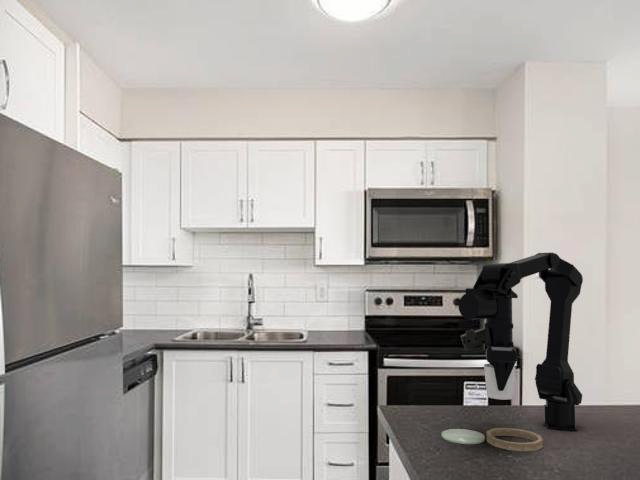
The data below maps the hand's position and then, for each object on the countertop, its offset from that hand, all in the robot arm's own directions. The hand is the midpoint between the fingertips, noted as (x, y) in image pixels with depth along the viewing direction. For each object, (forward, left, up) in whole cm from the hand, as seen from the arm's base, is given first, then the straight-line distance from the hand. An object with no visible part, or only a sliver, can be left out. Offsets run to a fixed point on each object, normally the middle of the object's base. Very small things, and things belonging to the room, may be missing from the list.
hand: (499, 387), depth 118 cm
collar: (-3, 0, -12) cm, 12 cm away
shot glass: (0, 0, -2) cm, 2 cm away
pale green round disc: (+8, 0, -12) cm, 14 cm away
